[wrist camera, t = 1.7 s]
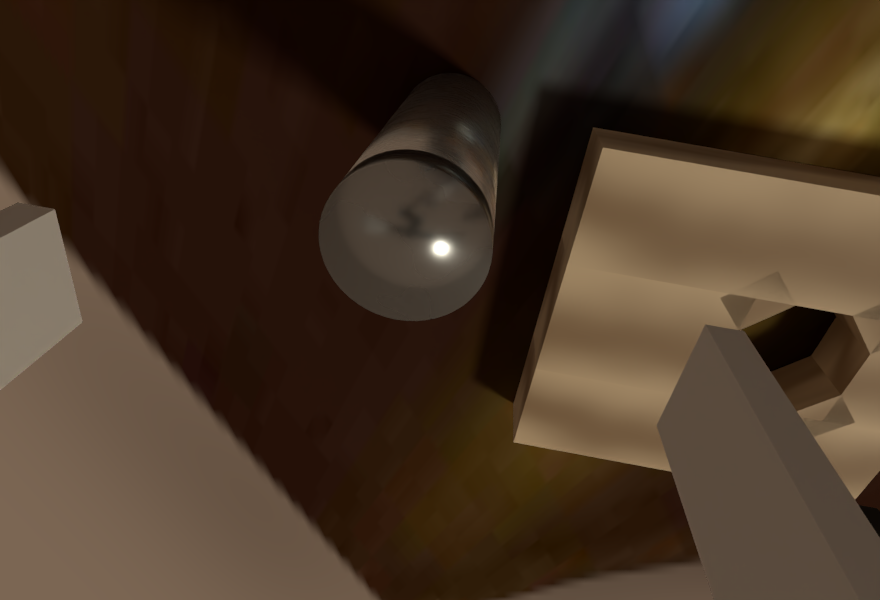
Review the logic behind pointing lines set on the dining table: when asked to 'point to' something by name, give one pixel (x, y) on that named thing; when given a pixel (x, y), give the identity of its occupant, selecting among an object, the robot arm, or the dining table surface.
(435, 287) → the grey metallic cylinder
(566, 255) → the jig
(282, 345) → the dining table surface
